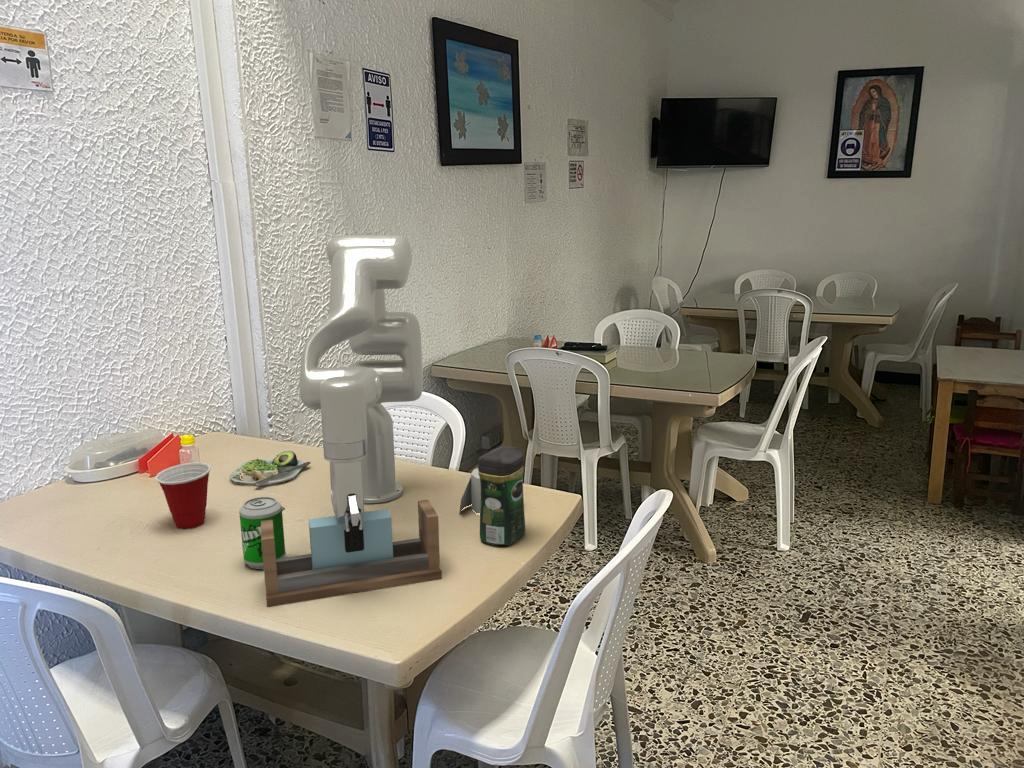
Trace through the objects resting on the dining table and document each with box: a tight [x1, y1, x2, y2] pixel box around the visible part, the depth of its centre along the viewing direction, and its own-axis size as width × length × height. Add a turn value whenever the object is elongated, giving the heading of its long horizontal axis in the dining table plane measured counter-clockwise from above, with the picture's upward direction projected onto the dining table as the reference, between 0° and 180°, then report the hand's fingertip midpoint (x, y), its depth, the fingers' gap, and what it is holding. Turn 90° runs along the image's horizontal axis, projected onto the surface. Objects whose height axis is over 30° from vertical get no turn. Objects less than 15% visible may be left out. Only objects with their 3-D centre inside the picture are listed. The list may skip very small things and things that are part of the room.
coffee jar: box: [477, 445, 526, 546], centre depth 151 cm, size 10×8×19 cm
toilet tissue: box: [458, 467, 481, 513], centre depth 166 cm, size 9×13×9 cm
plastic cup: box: [154, 461, 212, 530], centre depth 160 cm, size 11×11×12 cm
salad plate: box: [229, 450, 311, 487], centre depth 189 cm, size 19×18×5 cm
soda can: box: [238, 496, 286, 570], centre depth 142 cm, size 8×8×12 cm
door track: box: [261, 499, 443, 608], centre depth 136 cm, size 11×30×12 cm, turn 109°
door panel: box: [308, 508, 394, 570], centre depth 136 cm, size 4×14×10 cm, turn 108°
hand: (351, 539), depth 136 cm, fingers open, 9 cm apart
